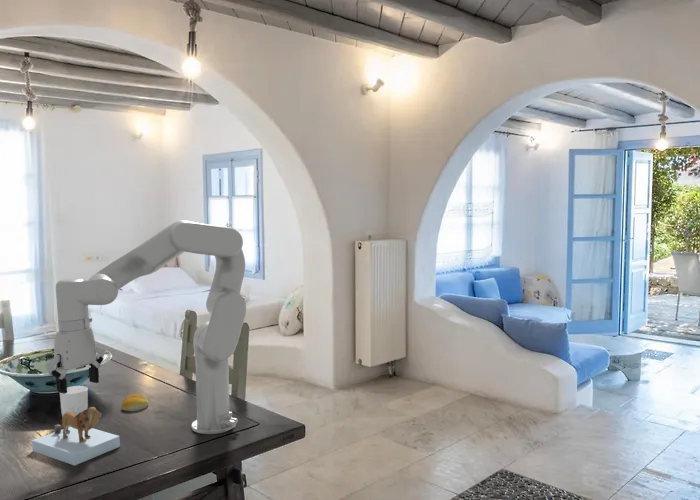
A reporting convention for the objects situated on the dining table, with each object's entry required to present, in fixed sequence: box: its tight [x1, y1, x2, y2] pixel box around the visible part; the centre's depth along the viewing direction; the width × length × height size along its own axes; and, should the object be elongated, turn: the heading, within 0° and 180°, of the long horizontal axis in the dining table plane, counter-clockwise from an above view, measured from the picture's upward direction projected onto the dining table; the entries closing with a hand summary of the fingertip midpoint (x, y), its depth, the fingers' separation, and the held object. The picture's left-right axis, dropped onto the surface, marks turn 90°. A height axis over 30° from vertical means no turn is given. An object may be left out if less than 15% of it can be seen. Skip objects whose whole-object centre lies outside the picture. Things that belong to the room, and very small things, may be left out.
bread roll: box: [121, 393, 149, 412], centre depth 202 cm, size 8×9×4 cm
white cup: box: [59, 385, 89, 417], centre depth 189 cm, size 8×8×10 cm
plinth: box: [31, 424, 121, 466], centre depth 168 cm, size 18×14×5 cm
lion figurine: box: [56, 406, 102, 442], centre depth 168 cm, size 15×5×9 cm, turn 72°
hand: (78, 387), depth 167 cm, fingers open, 9 cm apart
